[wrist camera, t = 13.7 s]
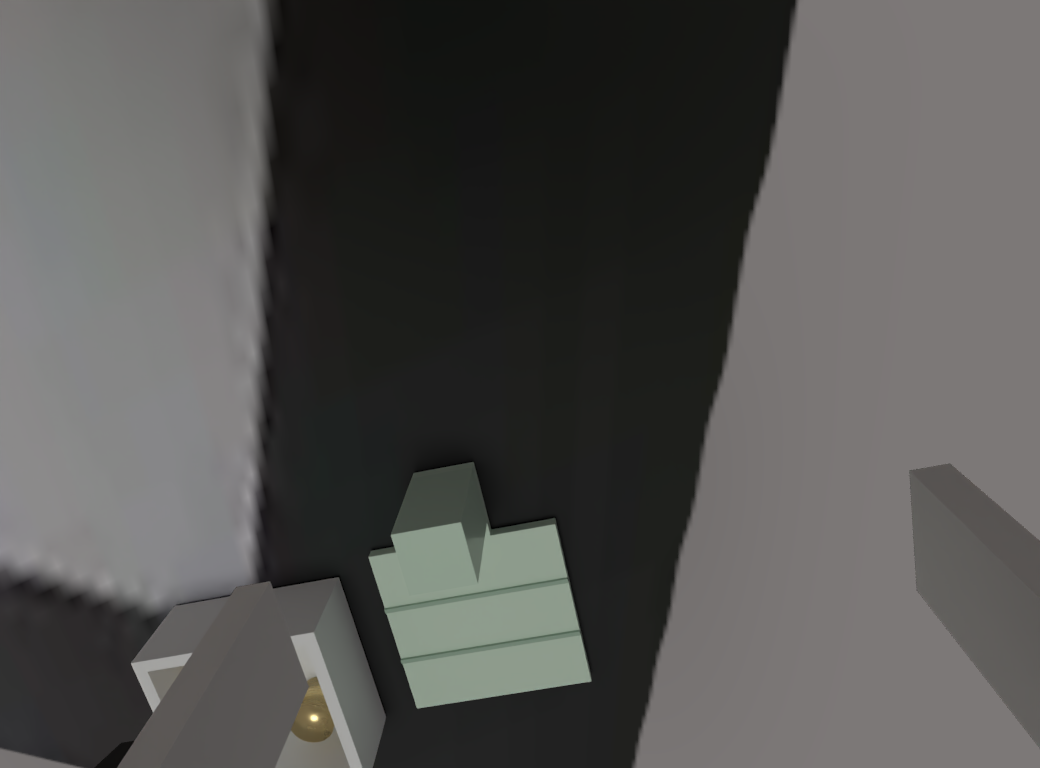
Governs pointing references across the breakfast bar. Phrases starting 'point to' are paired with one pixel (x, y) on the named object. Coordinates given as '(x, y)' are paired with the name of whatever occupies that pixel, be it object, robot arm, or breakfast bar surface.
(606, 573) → the breakfast bar surface
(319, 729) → the cylinder
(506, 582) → the green stepped block
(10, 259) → the breakfast bar surface
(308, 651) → the tub
